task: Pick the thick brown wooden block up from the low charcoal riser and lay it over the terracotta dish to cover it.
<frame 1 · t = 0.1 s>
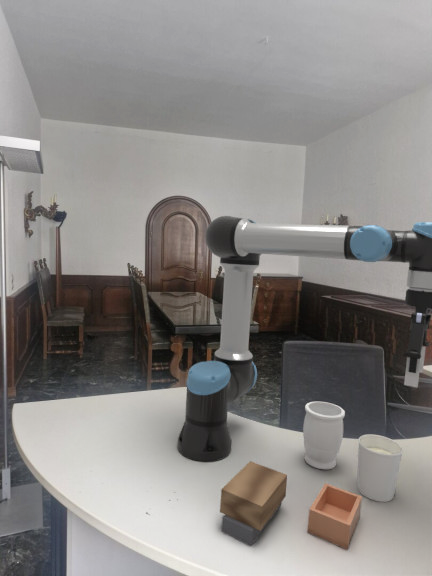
hand: (413, 378, 95), 28 cm above the table, tool pointing down, fingers open, 13 cm apart
jar: (319, 462, 108), on the table
dish: (334, 524, 83), on the table
candle holder: (374, 491, 96), on the table
riser: (253, 517, 84), on the table
brown wooden block: (254, 503, 84), point 3 cm above the table, touching riser
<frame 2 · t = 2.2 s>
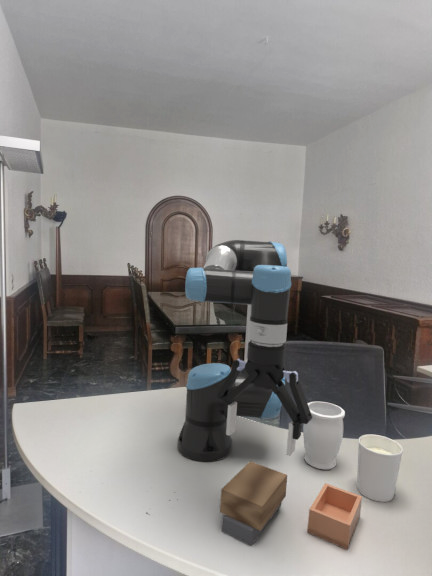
hand: (259, 442, 82), 17 cm above the table, tool pointing down, fingers open, 13 cm apart
nothing on the table moved.
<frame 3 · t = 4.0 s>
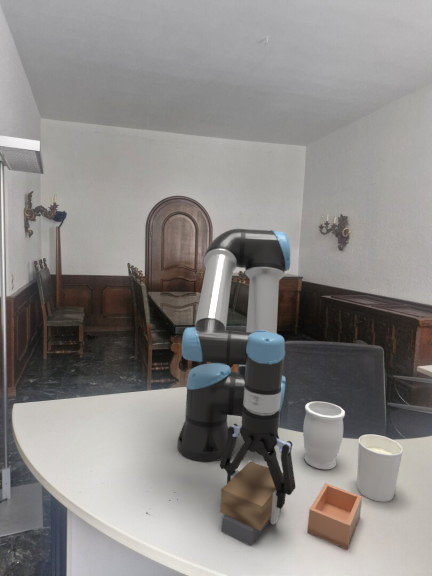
hand: (253, 510, 84), 1 cm above the table, tool pointing down, fingers closed on brown wooden block, 9 cm apart
brown wooden block: (254, 503, 84), point 3 cm above the table, touching gripper, riser
everything else where it was.
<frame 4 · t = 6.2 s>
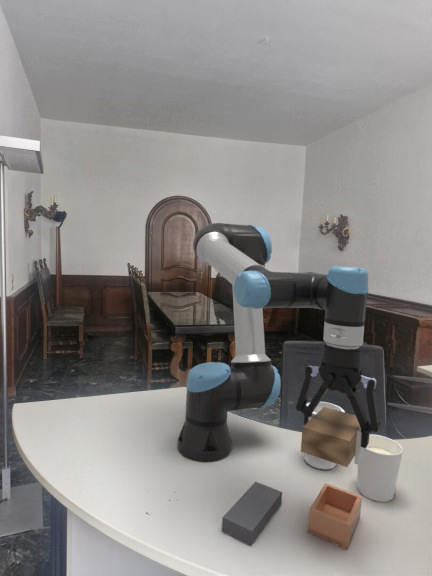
hand: (333, 453, 81), 16 cm above the table, tool pointing down, fingers closed on brown wooden block, 9 cm apart
brown wooden block: (333, 446, 81), point 18 cm above the table, touching gripper
everything else where it was.
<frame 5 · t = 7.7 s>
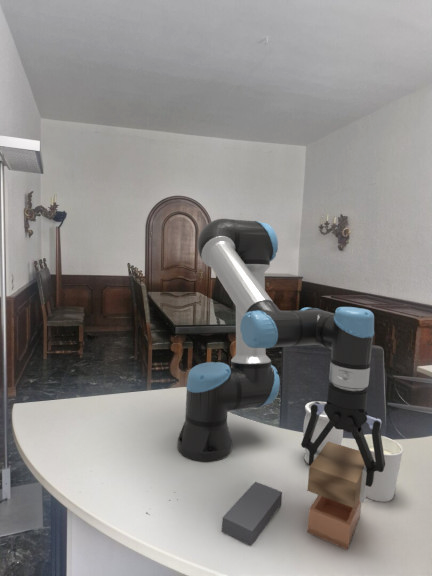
hand: (338, 489, 82), 8 cm above the table, tool pointing down, fingers closed on brown wooden block, 9 cm apart
brown wooden block: (338, 483, 82), point 9 cm above the table, touching gripper
everything else where it was.
when the fingers open (6 cm above the table, at t = 8.6 s): brown wooden block drops 2 cm, resting on dish.
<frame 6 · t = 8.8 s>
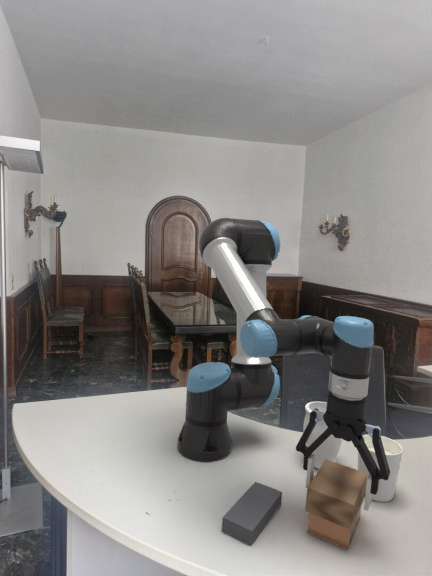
hand: (337, 495, 83), 7 cm above the table, tool pointing down, fingers open, 11 cm apart
brown wooden block: (336, 502, 83), point 5 cm above the table, touching dish
everything else where it was.
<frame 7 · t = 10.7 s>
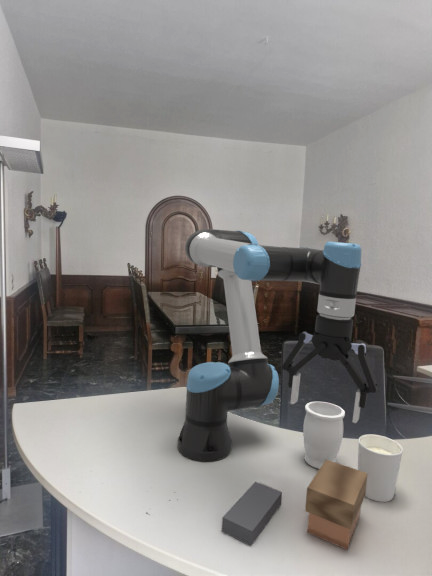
hand: (323, 411, 87), 22 cm above the table, tool pointing down, fingers open, 13 cm apart
nothing on the table moved.
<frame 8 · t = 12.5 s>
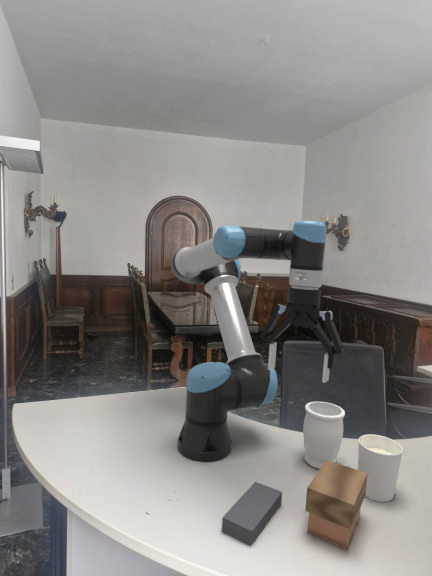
hand: (297, 374, 96), 27 cm above the table, tool pointing down, fingers open, 13 cm apart
nothing on the table moved.
at the end: brown wooden block inside the target area on the dish (0.1 cm from its centre), point 5.0 cm above the dish's base; brown wooden block tilted 0°; the gripper is holding nothing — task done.
